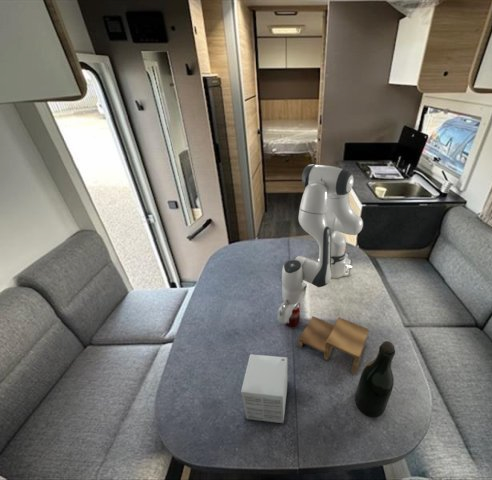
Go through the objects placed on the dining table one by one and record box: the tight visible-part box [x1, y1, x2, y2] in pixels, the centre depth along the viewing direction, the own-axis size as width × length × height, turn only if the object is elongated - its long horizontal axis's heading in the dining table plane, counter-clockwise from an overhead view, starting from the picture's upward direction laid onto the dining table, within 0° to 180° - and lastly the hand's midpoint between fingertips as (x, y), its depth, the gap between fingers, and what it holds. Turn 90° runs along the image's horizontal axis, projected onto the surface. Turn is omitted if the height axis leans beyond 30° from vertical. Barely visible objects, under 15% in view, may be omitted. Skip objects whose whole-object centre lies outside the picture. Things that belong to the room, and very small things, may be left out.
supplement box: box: [240, 353, 289, 424], centre depth 89 cm, size 13×13×18 cm
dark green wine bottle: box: [354, 340, 396, 419], centre depth 84 cm, size 10×10×33 cm
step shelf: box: [298, 315, 370, 374], centre depth 109 cm, size 14×25×11 cm, turn 61°
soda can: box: [284, 302, 301, 328], centre depth 120 cm, size 7×7×12 cm
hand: (291, 315), depth 121 cm, fingers closed on soda can, 7 cm apart
